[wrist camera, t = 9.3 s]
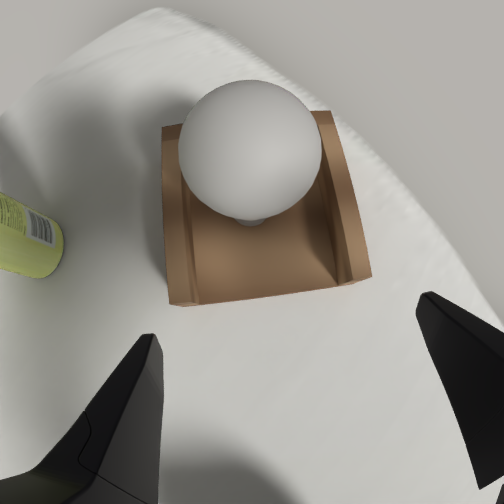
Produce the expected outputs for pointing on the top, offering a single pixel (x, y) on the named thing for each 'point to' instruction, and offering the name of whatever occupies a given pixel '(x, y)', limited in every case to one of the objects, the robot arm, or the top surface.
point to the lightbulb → (249, 150)
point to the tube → (28, 240)
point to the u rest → (263, 235)
